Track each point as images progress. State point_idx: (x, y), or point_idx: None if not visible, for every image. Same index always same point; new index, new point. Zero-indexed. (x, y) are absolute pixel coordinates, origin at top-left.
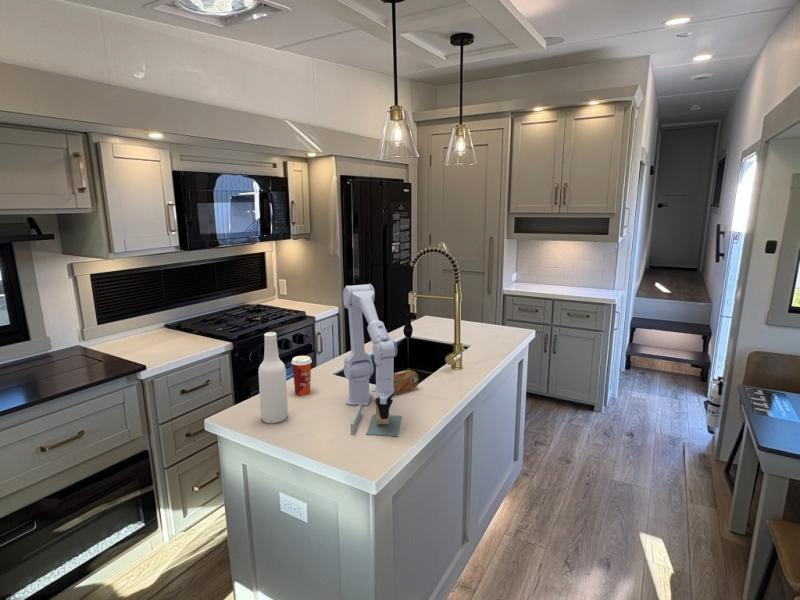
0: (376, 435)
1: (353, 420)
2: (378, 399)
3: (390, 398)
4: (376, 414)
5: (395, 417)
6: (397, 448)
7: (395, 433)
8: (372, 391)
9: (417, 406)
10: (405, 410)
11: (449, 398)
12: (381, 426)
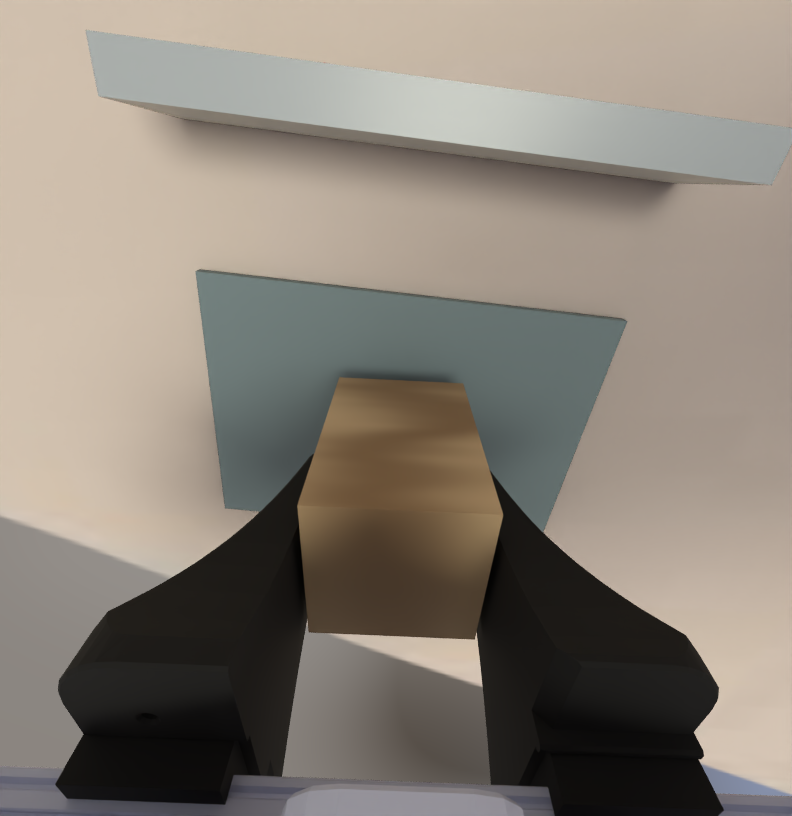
0: (211, 363)
1: (221, 79)
2: (150, 707)
3: (487, 695)
4: (323, 433)
5: (519, 501)
6: (71, 499)
7: (257, 497)
8: (306, 804)
9: (676, 615)
10: (637, 555)
11: (718, 733)
12: None
